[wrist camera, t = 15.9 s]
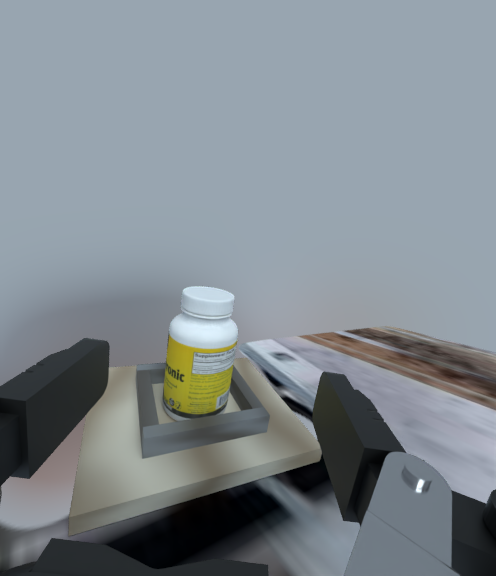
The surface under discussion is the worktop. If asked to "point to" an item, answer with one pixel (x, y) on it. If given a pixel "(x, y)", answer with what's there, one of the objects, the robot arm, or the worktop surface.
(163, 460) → the seat board
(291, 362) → the worktop surface
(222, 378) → the supplement bottle
